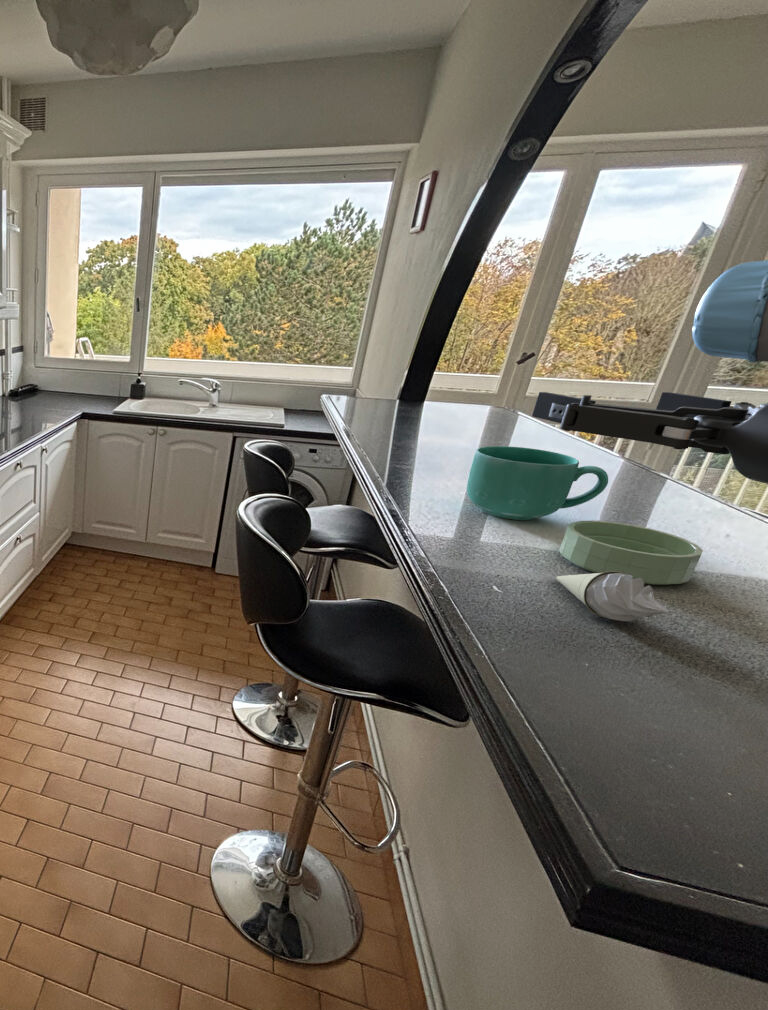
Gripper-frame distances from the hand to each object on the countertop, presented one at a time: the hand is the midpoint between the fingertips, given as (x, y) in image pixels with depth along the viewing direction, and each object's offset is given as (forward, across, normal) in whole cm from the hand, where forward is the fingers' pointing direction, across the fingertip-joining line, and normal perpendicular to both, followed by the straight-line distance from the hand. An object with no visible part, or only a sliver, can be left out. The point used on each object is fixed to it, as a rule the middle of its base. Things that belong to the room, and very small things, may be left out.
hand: (599, 404), depth 66 cm
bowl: (+1, +11, -20) cm, 23 cm away
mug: (+20, +13, -21) cm, 32 cm away
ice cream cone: (-4, -1, -20) cm, 20 cm away
